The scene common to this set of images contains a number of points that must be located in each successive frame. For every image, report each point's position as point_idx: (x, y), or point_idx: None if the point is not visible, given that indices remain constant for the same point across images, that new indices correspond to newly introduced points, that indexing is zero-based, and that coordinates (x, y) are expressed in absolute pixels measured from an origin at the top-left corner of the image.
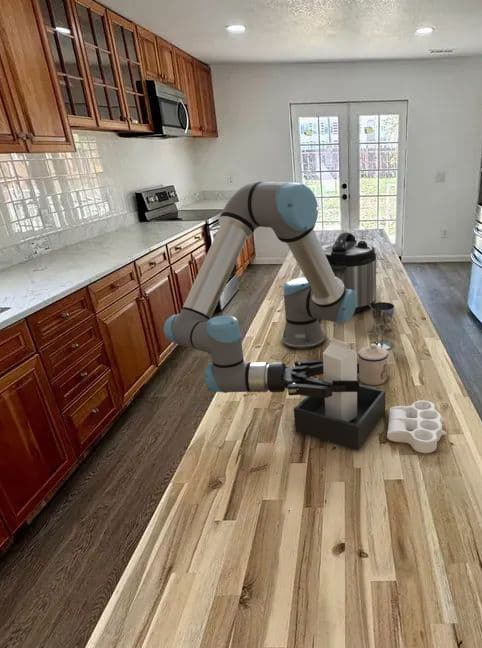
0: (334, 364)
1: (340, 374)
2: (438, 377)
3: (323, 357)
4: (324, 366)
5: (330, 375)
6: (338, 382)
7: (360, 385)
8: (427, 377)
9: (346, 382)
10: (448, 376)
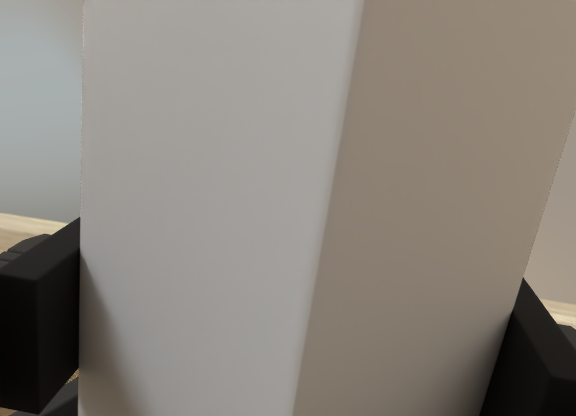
0: (528, 115)
1: (534, 230)
2: (32, 236)
3: (375, 41)
4: (344, 276)
5: (410, 361)
6: (563, 336)
7: (76, 385)
8: (6, 251)
9: (525, 289)
10: (46, 222)
